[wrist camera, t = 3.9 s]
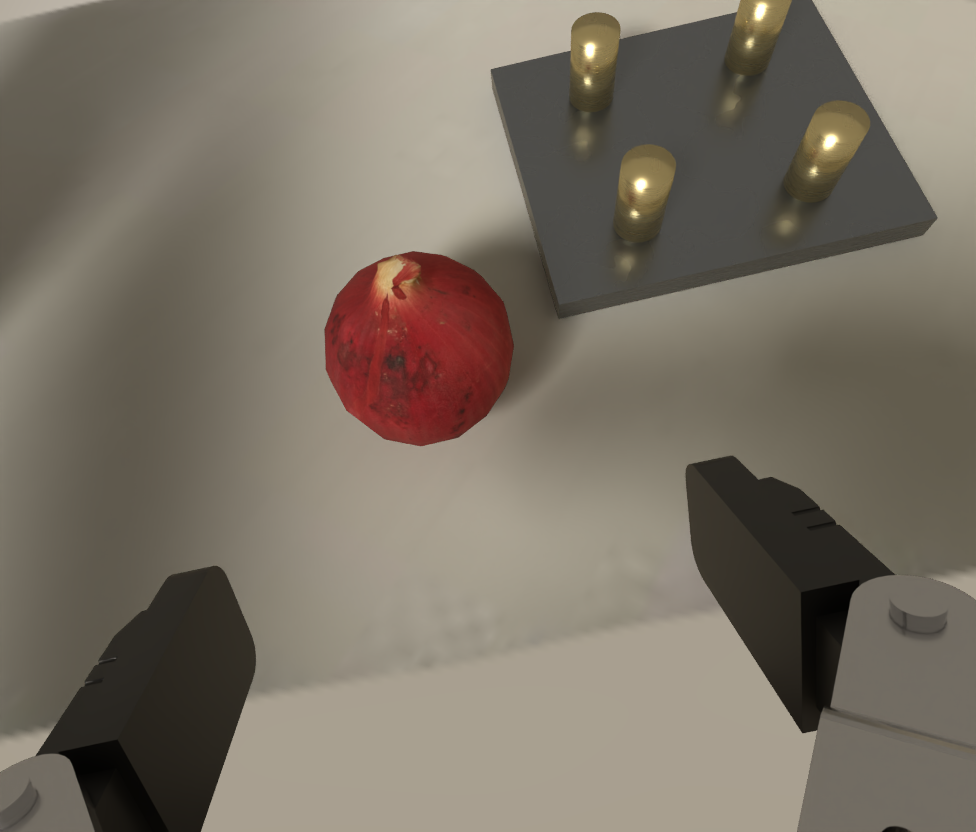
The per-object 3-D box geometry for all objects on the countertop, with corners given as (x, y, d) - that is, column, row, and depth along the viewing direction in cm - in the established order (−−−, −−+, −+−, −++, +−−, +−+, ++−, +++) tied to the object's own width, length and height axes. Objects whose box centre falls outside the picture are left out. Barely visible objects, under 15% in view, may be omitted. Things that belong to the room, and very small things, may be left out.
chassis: (558, 318, 25) (560, 256, 21) (492, 88, 29) (484, 3, 25) (923, 235, 25) (989, 157, 21) (800, 17, 29) (837, -79, 25)
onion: (500, 485, 23) (477, 394, 15) (342, 458, 23) (246, 359, 16) (530, 336, 24) (522, 191, 17) (383, 316, 25) (314, 170, 18)
